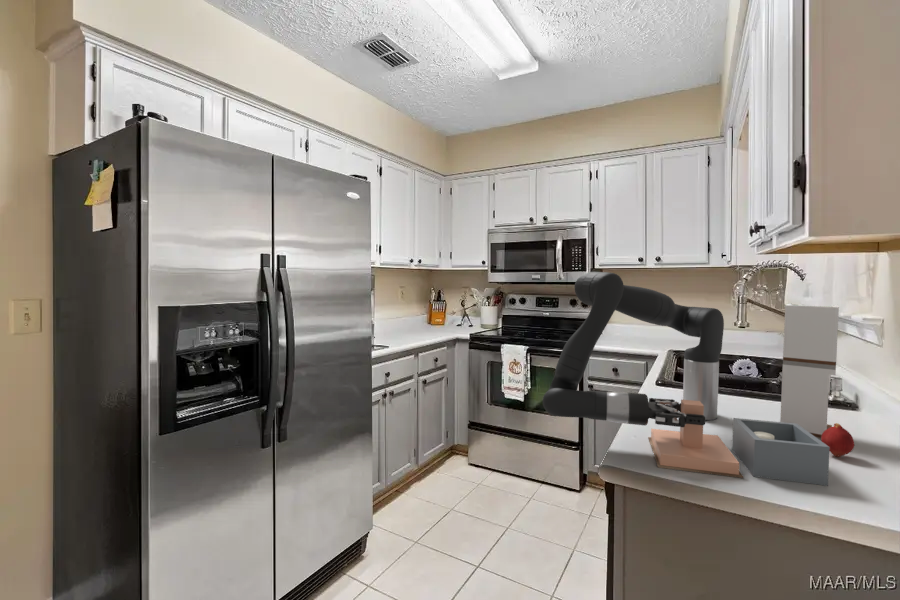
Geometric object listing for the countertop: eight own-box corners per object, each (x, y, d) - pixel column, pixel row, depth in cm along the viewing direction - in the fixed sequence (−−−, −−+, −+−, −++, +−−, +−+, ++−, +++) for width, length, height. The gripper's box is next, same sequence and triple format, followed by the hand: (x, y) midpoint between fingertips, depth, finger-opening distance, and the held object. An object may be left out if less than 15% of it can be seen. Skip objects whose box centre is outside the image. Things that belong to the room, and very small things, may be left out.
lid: (651, 438, 114) (652, 390, 113) (717, 445, 109) (719, 396, 108) (660, 464, 97) (661, 409, 97) (738, 474, 93) (741, 417, 92)
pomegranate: (834, 450, 107) (836, 418, 106) (860, 460, 101) (862, 426, 100) (814, 452, 106) (815, 419, 105) (839, 462, 100) (840, 428, 100)
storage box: (732, 449, 107) (733, 417, 107) (795, 456, 103) (796, 423, 102) (753, 476, 93) (754, 439, 92) (827, 485, 89) (829, 447, 88)
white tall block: (832, 444, 111) (838, 307, 109) (779, 434, 118) (785, 305, 116) (831, 432, 119) (837, 305, 117) (782, 423, 126) (787, 303, 124)
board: (648, 438, 114) (648, 436, 114) (719, 446, 109) (719, 444, 109) (657, 467, 97) (658, 465, 97) (743, 478, 92) (743, 476, 92)
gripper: (628, 400, 100) (708, 407, 95) (624, 386, 114) (694, 391, 109) (628, 432, 101) (707, 441, 95) (623, 414, 114) (693, 420, 109)
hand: (700, 414), depth 102 cm, fingers open, 8 cm apart
